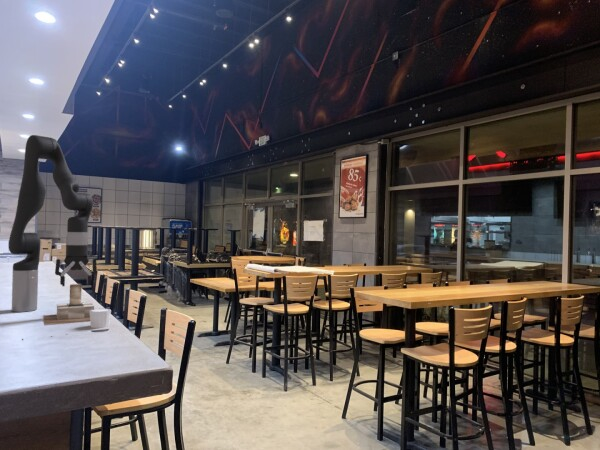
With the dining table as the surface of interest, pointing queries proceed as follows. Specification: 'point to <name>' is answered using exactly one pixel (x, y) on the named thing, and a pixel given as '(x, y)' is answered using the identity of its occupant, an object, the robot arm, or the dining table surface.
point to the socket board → (54, 320)
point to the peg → (75, 295)
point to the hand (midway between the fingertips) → (75, 285)
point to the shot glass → (100, 319)
